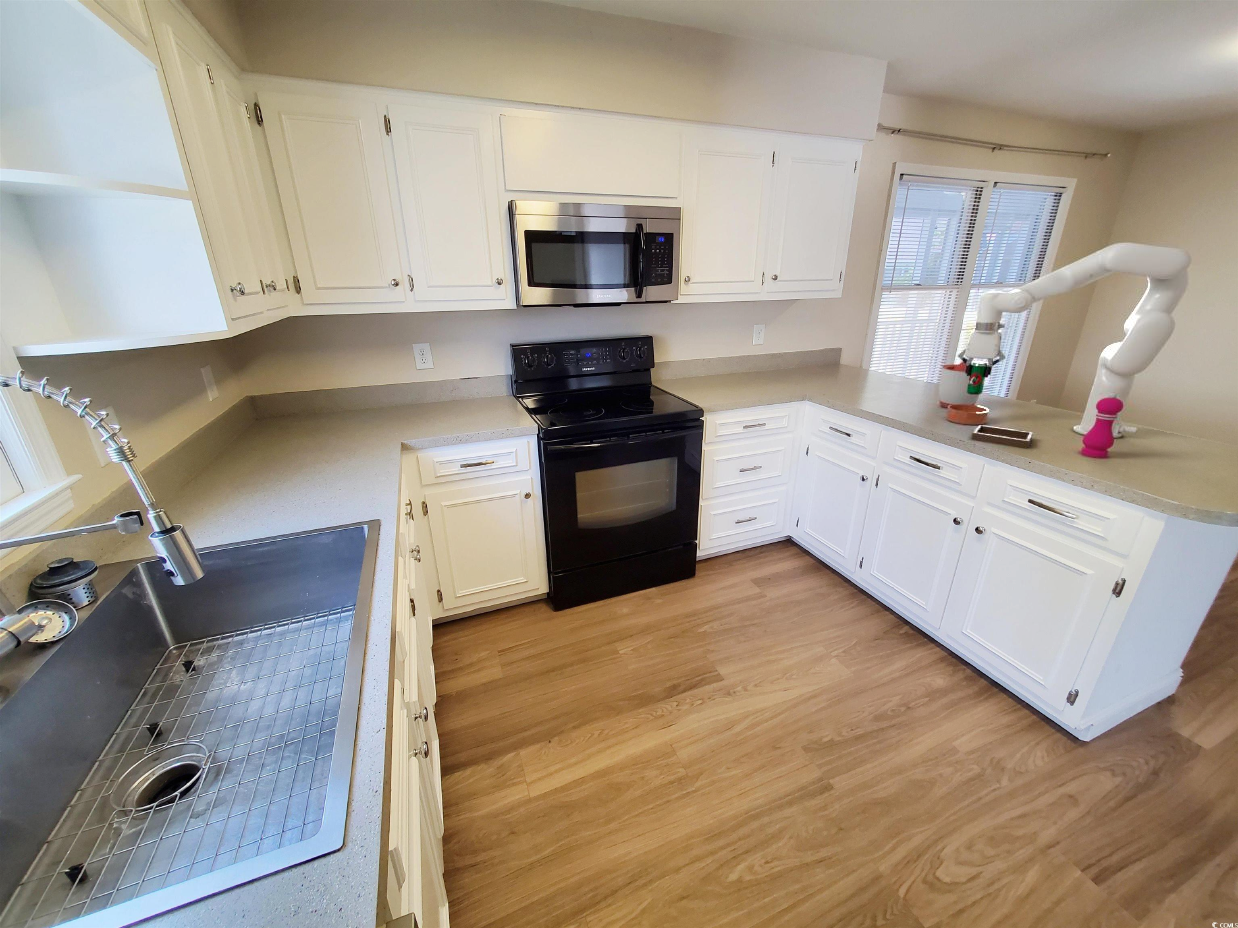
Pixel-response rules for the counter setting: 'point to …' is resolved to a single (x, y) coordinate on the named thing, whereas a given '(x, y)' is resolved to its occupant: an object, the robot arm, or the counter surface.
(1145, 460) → the counter surface
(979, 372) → the soda can
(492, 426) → the counter surface
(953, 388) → the citrus juicer
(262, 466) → the counter surface
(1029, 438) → the tray
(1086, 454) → the pepper mill
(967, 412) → the bowl
